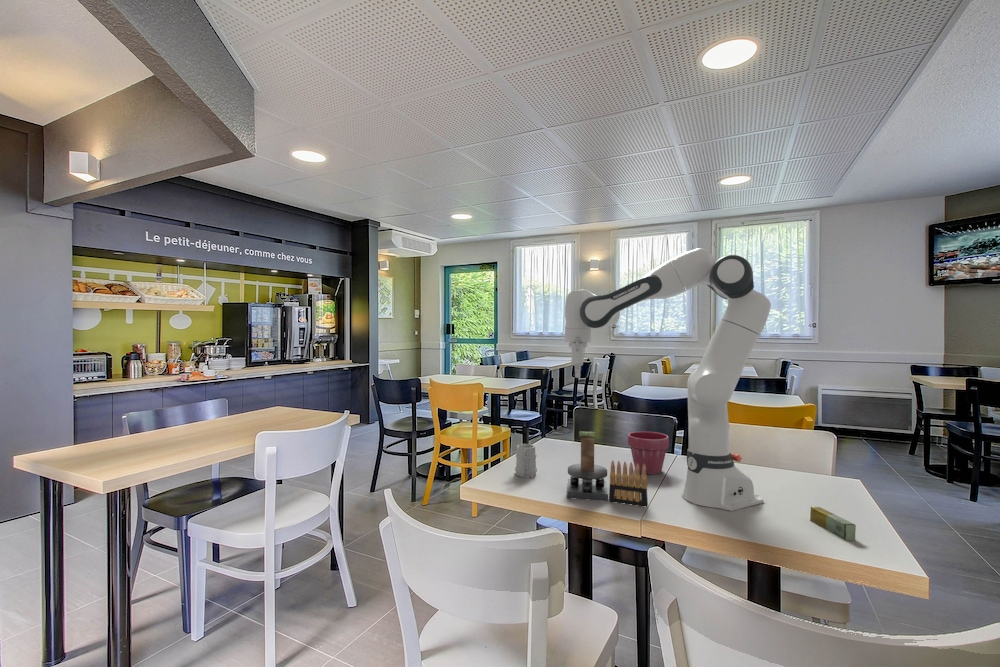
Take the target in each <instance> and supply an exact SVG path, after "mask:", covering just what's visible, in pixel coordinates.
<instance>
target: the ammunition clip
mask: <svg viewBox="0 0 1000 667" xmlns="http://www.w3.org/2000/svg"><path fill="white" fill-rule="evenodd" d="M610 463H611V464H610V473H609V490H608V502H609V501H610V502H609V503H613V502H617V503H616V504H621V503H625V504H624V505H628V504H632V505H631V506H635V505H638V506H637V507H642V506H646V507H645V508H647V507H648V504H649V503H648V502H649V501H648V477H647V474H646V466H645V464H643V467H642V473H641V472H640V468H639V464H638V463H637V465H636V470H635V473H634V464H633V463H632V462H631V461H630V463H629V466H627V462H626V461H624V462H623V466H621V461H619V460H618V462H617V464H616V467H615V461H614V460H611V462H610ZM628 467H629V468H628Z"/></svg>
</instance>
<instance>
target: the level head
mask: <svg viewBox="0 0 1000 667" xmlns="http://www.w3.org/2000/svg"><path fill="white" fill-rule="evenodd" d="M578 434H579V437H580V463H574V464H571V465H569V466H568V467H567V475H569V476H570V477H571V476H573V477H576V478H579V480H582V479H590V480H593V481H595V480H596V479H602V478H604V479H605V478H606V477H607V476H608V469H607V468H606V467H604V466H601V465H598V464H595V438H597V433H596V431H584V430H583V431H580V430H579V432H578Z"/></svg>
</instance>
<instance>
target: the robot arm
mask: <svg viewBox="0 0 1000 667" xmlns="http://www.w3.org/2000/svg"><path fill="white" fill-rule="evenodd" d="M754 283H755V282H754V271H753V268H752V264H751V263H750V262H749V261H748V260H747V259H746V258H744V257H743V256H741V255H736V254H729V255H725V256H722V257H721V258H719V259H717V260H716V259H715V256H714V255H713V253H711V252H710V251H708V250H707V249H705V248H702V247H701V248H695V249H692V250H688V251H686V252H684V253H680V254H679V255H677V256H674V257H672V258H670V259H668V260H667V261H665V262H663V263H661V264H660V265H658V266H657V267H655V268H653V269H652V270H650V271H649V272H648V273H646V274H645V275H643V276H642V277H640V278H638V279H636V280H635V281H633V282H631V283H629V284H626V285H625V286H623V287H621V288H618V289H617V290H614V291H612V292H611V293H610V292H609V293H607V294H601V295H597V294H594V293H592V292H591V291H590V290H589V289H585V288H584V289H575V290H572V291H571V292H569V293H568V294H567V296H566V299H565V307H564V318H565V326H564V342H565V343H568V348H571V366H574V377H575V378H576V379H580V378H581V371H582V366H584V358H585V350H586V348H588V343H591V342H592V329H599V328H609V327H612V326H614V325H615V324H616V323H617V322H618V320H619V318H620V315H621V311H623V310H625V309H628V308H629V307H632V306H634V305H636V304H638V303H640V302H641V303H642V302H644V301H646V300H664V299H669V298H673V297H676V296H679V295H681V294H683V293H685V292H687V291H689V290H691V289H693V288H695V287H697V286H701V285H706V286H707V287H708V288H710V289H711V291H713V292H714V294H716V295H717V296H718V297H720V298H721V299H725V300H727V305H726V306H727V307H726V309H725V311H724V314H723V315H722V317H721V319H720V321H719V323H718V325H717V327H716V329H715V331H714V332H713V334H712V336H711V338H710V340H709V342H708V344H707V347H706V349H705V351H704V354H703V356H702V358H701V361H700V363H699V365H698V367H697V368H696V369H694V370H692V372H690V374H689V376H688V378H687V385H686V386H687V387H686V388H687V417H688V421H687V422H688V448H687V450H686V465H687V472H686V478H685V485H684V488H683V492H682V496H681V497H682V498H684V499H685V500H687V501H688V502H690V503H693V504H695V505H700V506H703V507H708V508H715V509H721V510H726V511H736V510H741V509H744V508H748V507H752V506H754V505H755V506H756V505H759V504H762V503H764V498H763V497H762V496H760V495H759V494H757V493H756V492H755V490H754V488H755V487H754V483H753V480H752V479H751V478H750V477H749V475H747V474H745V473H744V472H743V471H742V470H740V469H739V468H738V467H737V466H736V465H735V462H737V463H739V462H741V461H742V456H741V455H740V454H736V453H733V454H732V453H731V452H730V421H729V420H730V419H729V412H728V402H729V401H730V400H731V398H732V396H733V394H734V391H735V389H736V387H737V384H738V382H739V381H740V377H741V375H742V372H743V370H744V367H745V365H746V364H747V363H746V362H747V360H748V358H749V356H750V355H751V353H752V351H753V349H754V347H755V345H756V343H757V341H758V340H759V337H760V336H761V334H762V332H763V330H764V328H765V326H766V324H767V323H766V322H767V320H768V317H769V315H770V311H771V307H772V304H771V301H770V299H769V298H768V297H767V295H764V294H763V293H761V292H759V291H756V290H755V289H754V287H755V285H754ZM734 461H735V462H734Z"/></svg>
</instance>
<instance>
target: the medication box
mask: <svg viewBox="0 0 1000 667" xmlns="http://www.w3.org/2000/svg"><path fill="white" fill-rule="evenodd" d="M809 513H810V518H809V519H810V520H809V521H810V522H812V523H813V524H815V525H817V526H818V527H820V528H823V529H824V530H825V531H826V532H827V531H828V532H829V533H830V534H832V535H834V536H836V537H838V538H839V539H841V540H843V541H846V542H852V541H853V542H855V541H856V530H857V529H856V528H857V527H856V526H857V525H856V524H855V523H853V522H851V521H848V520H847V519H845V518H843V517H841V516H839V515H837V514H835V513H832V512H831V511H829V510H827V509H824V508H822V507H820V506H810V511H809Z"/></svg>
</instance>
